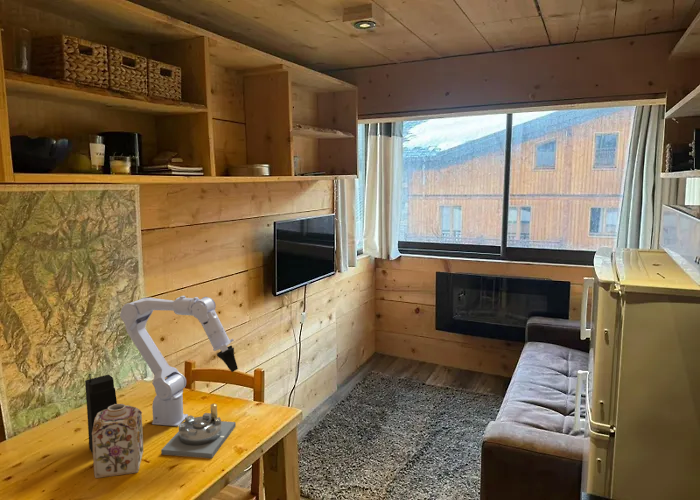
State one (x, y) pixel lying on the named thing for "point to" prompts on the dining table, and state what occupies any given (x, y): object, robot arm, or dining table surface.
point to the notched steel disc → (200, 428)
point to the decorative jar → (117, 441)
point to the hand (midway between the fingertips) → (234, 369)
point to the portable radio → (98, 399)
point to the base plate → (202, 450)
